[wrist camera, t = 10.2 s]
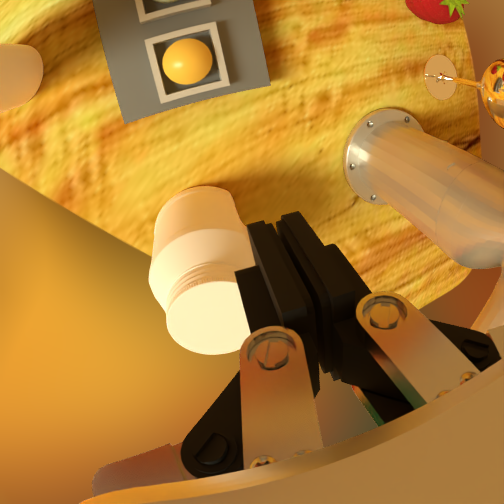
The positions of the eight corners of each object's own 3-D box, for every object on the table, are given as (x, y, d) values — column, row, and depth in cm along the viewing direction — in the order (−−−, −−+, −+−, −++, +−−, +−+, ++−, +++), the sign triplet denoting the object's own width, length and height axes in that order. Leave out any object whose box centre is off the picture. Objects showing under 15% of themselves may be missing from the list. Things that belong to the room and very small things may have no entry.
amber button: (205, 35, 23) (206, 33, 22) (215, 77, 26) (216, 77, 24) (159, 47, 23) (157, 46, 22) (169, 89, 25) (168, 90, 24)
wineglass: (416, 103, 33) (530, 147, 19) (417, 43, 29) (537, 59, 14) (458, 108, 34) (561, 151, 20) (460, 53, 30) (569, 78, 15)
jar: (143, 211, 35) (125, 298, 22) (219, 171, 34) (243, 241, 22) (192, 282, 41) (201, 377, 29) (259, 250, 41) (295, 338, 28)
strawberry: (376, -16, 24) (432, -28, 16) (421, -20, 24) (477, -27, 16) (393, 28, 28) (451, 28, 20) (435, 21, 27) (492, 23, 19)
